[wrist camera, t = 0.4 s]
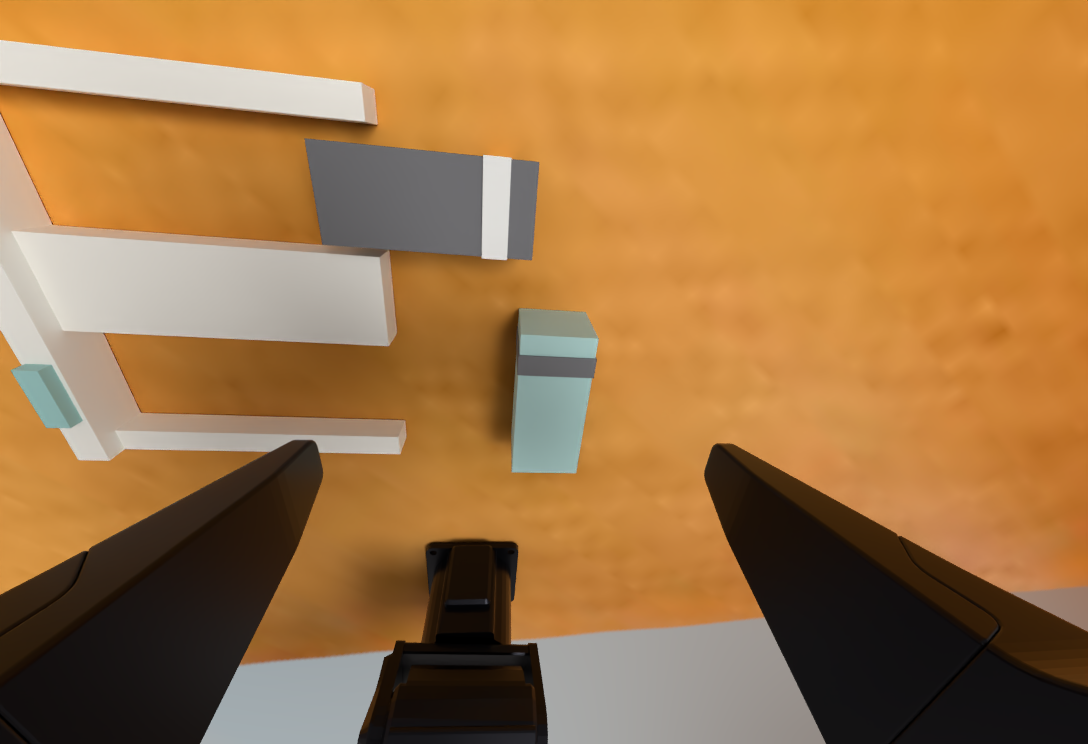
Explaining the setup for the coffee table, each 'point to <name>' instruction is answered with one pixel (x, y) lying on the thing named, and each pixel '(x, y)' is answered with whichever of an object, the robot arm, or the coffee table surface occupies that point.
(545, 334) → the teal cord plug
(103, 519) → the coffee table surface
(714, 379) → the coffee table surface
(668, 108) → the coffee table surface
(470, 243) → the dark grey block
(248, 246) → the slot rack
